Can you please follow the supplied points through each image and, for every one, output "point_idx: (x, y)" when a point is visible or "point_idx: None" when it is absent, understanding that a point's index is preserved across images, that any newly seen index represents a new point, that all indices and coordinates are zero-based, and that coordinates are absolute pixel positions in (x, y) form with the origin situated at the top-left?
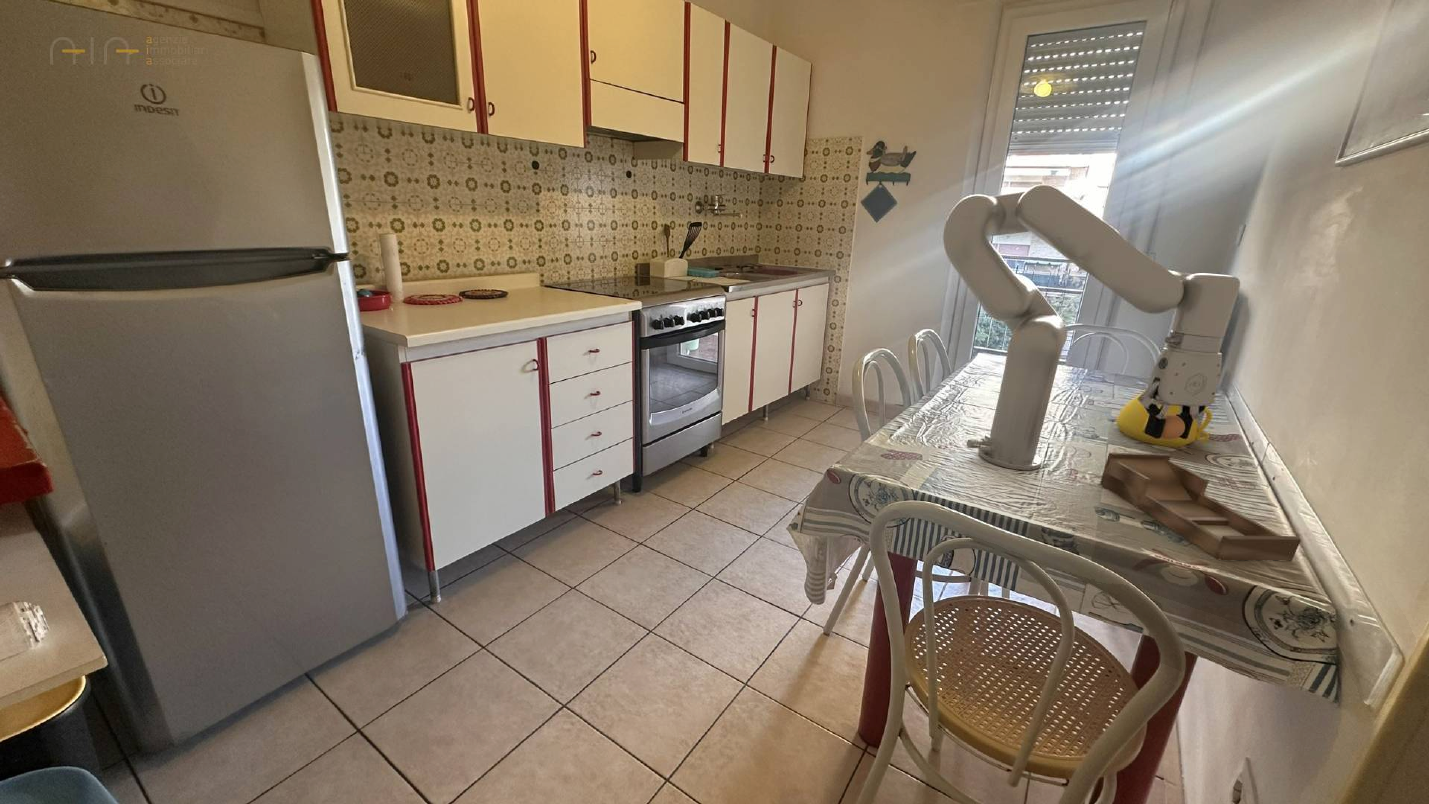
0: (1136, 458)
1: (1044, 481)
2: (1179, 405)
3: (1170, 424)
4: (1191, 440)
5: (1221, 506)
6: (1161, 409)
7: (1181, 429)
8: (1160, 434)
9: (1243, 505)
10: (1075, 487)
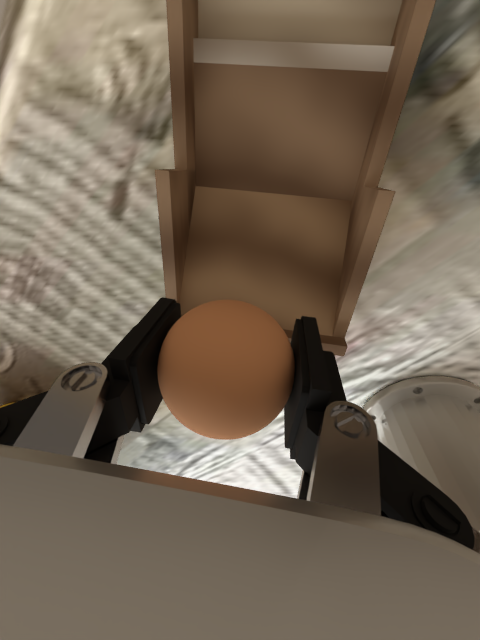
0: None
1: (461, 332)
2: (273, 495)
3: (271, 355)
4: (7, 404)
5: (184, 78)
6: (375, 478)
7: (216, 314)
8: (310, 325)
9: (61, 178)
10: (413, 299)
